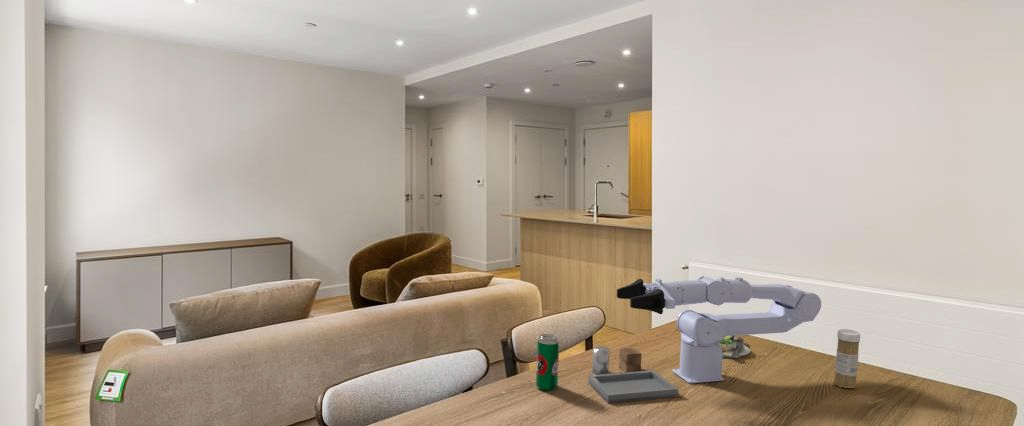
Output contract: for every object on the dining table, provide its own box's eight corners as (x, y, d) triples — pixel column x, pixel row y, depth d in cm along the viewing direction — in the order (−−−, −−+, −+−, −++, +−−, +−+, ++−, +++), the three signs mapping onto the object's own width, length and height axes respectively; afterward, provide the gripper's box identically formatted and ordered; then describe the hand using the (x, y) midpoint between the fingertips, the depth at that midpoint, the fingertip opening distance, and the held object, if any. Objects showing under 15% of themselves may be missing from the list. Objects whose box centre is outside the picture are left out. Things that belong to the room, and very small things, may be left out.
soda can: (556, 393, 118) (558, 341, 117) (534, 390, 119) (535, 339, 118) (558, 384, 123) (560, 334, 122) (537, 381, 124) (539, 332, 123)
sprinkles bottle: (847, 382, 128) (852, 328, 127) (860, 390, 124) (865, 334, 123) (829, 381, 128) (833, 328, 127) (841, 389, 124) (846, 334, 122)
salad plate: (766, 364, 140) (767, 347, 139) (698, 362, 140) (699, 345, 140) (738, 340, 159) (738, 325, 158) (678, 338, 160) (679, 323, 159)
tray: (653, 377, 128) (653, 370, 128) (677, 396, 118) (678, 388, 118) (588, 382, 124) (588, 375, 124) (607, 403, 114) (608, 395, 113)
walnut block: (633, 366, 135) (634, 347, 135) (640, 372, 131) (641, 353, 131) (618, 367, 134) (619, 348, 134) (626, 373, 130) (626, 354, 130)
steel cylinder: (604, 368, 133) (605, 345, 133) (611, 374, 129) (612, 351, 129) (589, 369, 132) (590, 346, 132) (596, 376, 128) (597, 352, 128)
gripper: (662, 270, 133) (611, 274, 130) (693, 285, 119) (637, 290, 116) (661, 297, 134) (611, 301, 131) (692, 315, 120) (637, 320, 117)
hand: (623, 298), depth 124 cm, fingers open, 7 cm apart
